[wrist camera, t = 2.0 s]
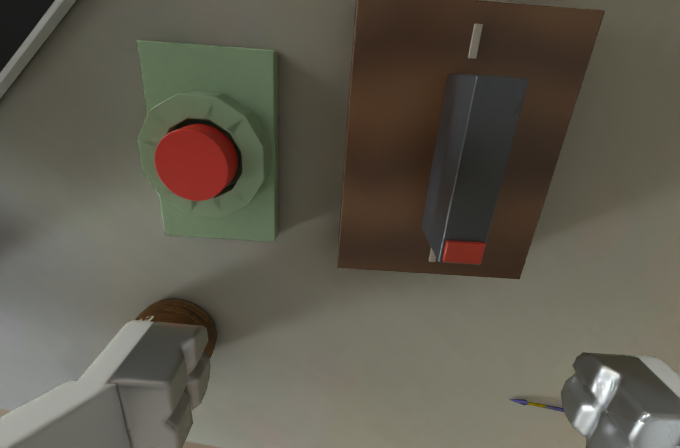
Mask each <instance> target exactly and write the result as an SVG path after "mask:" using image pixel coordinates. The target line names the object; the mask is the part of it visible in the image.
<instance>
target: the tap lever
mask: <svg viewBox="0 0 680 448" xmlns="http://www.w3.org/2000/svg"><path fill="white" fill-rule="evenodd" d="M527 85H528V79H527V78H518V77H505V76H491V75H477V74H451V73H450V74H448V76H447V82H446V88H445V93H444V99H443V105H442V111H441V116H440V122H439V128H438V133H437V139H436V145H435V151H434V156H433V162H432V168H431V173H430V179H429V185H428V191H427V196H426V202H425V208H424V213H423V219H422V225H421V228H422V230H423V232H424V234H425V236H426V238H427V240H428V242H429V244H430V246H431V248H432V250H433V252H434V254H435V256H436V258H437V260H438V262H440V263H456V264H472V265H480V264H481V261H482V257H483V253H484V249H485V246H486V242H487V238H488V234H489V230H490V227H491V223H492V219H493V215H494V211H495V207H496V204H497V200H498V196H499V192H500V188H501V184H502V181H503V177H504V173H505V169H506V165H507V161H508V158H509V154H510V150H511V146H512V142H513V138H514V135H515V131H516V127H517V123H518V119H519V115H520V112H521V108H522V104H523V100H524V96H525V93H526V89H527Z"/></svg>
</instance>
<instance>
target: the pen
mask: <svg viewBox="0 0 680 448" xmlns="http://www.w3.org/2000/svg"><path fill="white" fill-rule="evenodd" d="M509 400H512V401H514V402H517V403H520V404H522V405H527V404H529V405H534V406H538V407H543V408H548V409H553V410H557V411H562V412H564V409H563V408H560V407H554V406H549V405H543V404H537V403H531V402H527V401H526V400H520V399H509Z"/></svg>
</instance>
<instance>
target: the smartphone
mask: <svg viewBox="0 0 680 448" xmlns="http://www.w3.org/2000/svg"><path fill="white" fill-rule="evenodd" d="M75 2H76V0H0V98H1V97H2V96H3V95H4V93H5V92H6V91H7V89H8V88H9V87H10V86H11V84H12V83H13V82H14V80H15V79H16V78H17V77H18V75H19V74H20V73H21V71H22V70H23V69H24V67H25V66H26V65H27V64H28V62H29V61H30V60H31V58H32V57H33V56H34V55H35V53H36V52H37V51H38V49H39V48H40V47H41V46H42V44H43V43H44V42H45V40H46V39H47V38H48V36H49V35H50V34H51V33H52V31H53V30H54V29H55V27H56V26H57V25H58V24H59V22H60V21H61V20H62V18H63V17H64V16H65V15H66V13H67V12H68V11H69V9H70V8H71V7H72V5H73V4H74V3H75Z"/></svg>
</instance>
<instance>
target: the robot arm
mask: <svg viewBox="0 0 680 448" xmlns="http://www.w3.org/2000/svg"><path fill="white" fill-rule="evenodd" d="M207 343H208V334H207V328H205V327H204V326H198V325H188V324H177V323H166V322H150V321H140V320H132V321H130V322H128V323H126V324H125V325H124V327H123V328H122V329H121V330H120V331H119V332H118V334H117V335H116V336H115V337H114V338H113V339H112V341H111V342H110V343H109V344H108V345H107V346H106V348H105V349H104V350H103V351H102V352H101V353H100V355H99V356H98V357H97V358H96V359H95V360H94V362H93V363H92V364H91V365H90V366H89V368H88V369H87V370H86V371H85V372H84V373H83V375H82V376H81V377H80V378H79V379H78V380H77V381H67V382H65V383H64V384H62V385H60V386H58V387H56V388H54V389H52V390H51V391H49V392H47V393H45V394H43V395H41V396H39V397H38V398H36V399H34V400H32V401H30V402H28V403H26V404H24V405H23V406H21V407H19V408H17V409H15V410H13V411H11V412H10V413H8V414H6V415H4V416H2V417H0V448H182V447H183V445H184V443H185V440H186V438H187V436H188V433H189V431H190V429H191V426H192V424H193V419H192V410H193V409H194V408H196V407H197V406H198V405H200V404H201V403H202V400H203V398H204V395H205V393H206V390H207V386H208V382H209V377H210V366H211V365H210V356H209V355H208V354H207V353H206V352H205V351H204V349H205V347H206V345H207ZM573 368H574V370H575V372H576V374H575V375H573V376H572V377H570V378H569V379H568V380H566V381H565V384H564V386H563V389H562V391H561V397H562V406H563V409H564V412H565V415H566V417H567V418H568V420H569V422H570V423H571V425H572V427H573V428H575V429H576V430H577V431H579V432H580V433H581V434H582V435H584V436H585V437H586V448H680V375H679V374H678V373H677V372H675V371H674V370H673V369H672V368H671V367H670V366H669V365H668V364H667V363H666V362H664V361H663V360H661V359H659V358H657V357H655V356H642V355H617V354H601V353H585V352H583V353H582V354H580V355H579V356H578V357H577V358H576V360H575V362H574V364H573Z"/></svg>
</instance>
